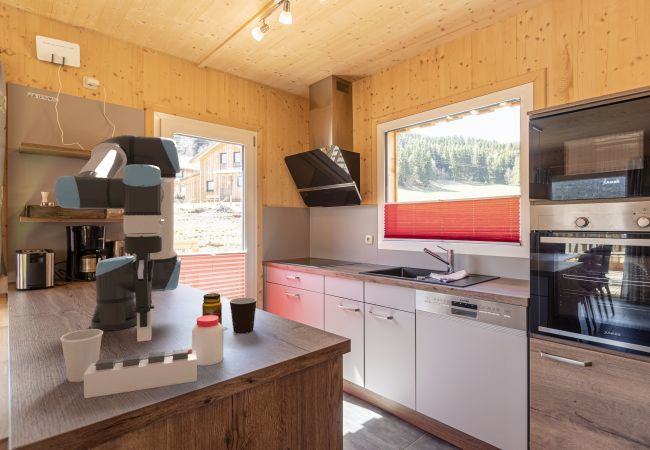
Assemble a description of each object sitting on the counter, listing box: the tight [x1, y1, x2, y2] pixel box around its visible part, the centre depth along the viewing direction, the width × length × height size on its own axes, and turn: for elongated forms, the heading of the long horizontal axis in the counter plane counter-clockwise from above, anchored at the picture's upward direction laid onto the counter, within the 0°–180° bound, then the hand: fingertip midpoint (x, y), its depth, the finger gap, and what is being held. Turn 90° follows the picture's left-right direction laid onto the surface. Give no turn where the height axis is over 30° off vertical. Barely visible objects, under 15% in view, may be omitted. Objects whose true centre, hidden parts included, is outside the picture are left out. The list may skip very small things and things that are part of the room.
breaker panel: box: [83, 348, 198, 399], centre depth 81 cm, size 6×22×6 cm, turn 111°
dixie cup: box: [59, 328, 104, 383], centre depth 84 cm, size 8×8×10 cm
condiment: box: [201, 292, 227, 331], centre depth 118 cm, size 7×8×12 cm
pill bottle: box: [191, 315, 224, 367], centre depth 94 cm, size 8×8×11 cm
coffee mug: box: [229, 296, 258, 335], centre depth 119 cm, size 12×9×10 cm
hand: (144, 339), depth 81 cm, fingers closed
